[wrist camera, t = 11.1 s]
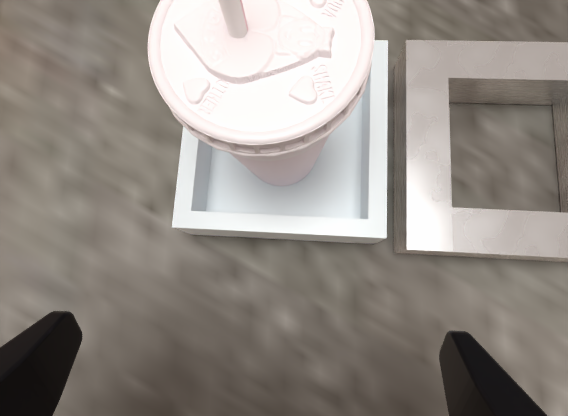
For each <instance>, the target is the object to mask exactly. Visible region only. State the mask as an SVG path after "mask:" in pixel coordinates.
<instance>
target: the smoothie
mask: <svg viewBox="0 0 568 416" xmlns="http://www.w3.org/2000/svg"><path fill="white" fill-rule="evenodd" d="M374 38H375V37H374V24H373V18H372V14H371V10H370V7H369V5H368V2H367V0H160V2H159V4H158V6H157V8H156V11H155V13H154V16H153V19H152V22H151V25H150V31H149V37H148V58H149V65H150V69H151V73H152V77H153V79H154V82H155V84H156V86H157V88H158V90H159V93H160V94H161V96H162V97H163V99H164V100H165V102H166V103H167V104H168V106H169V108H170V109H171V111H172V113H173V115H174V117H175V118H176V119H177V120H178V121H179V122H180V123H181V124H182V125H183V126H184V127H185V128H186V129H187V130H188V131H189V132H190V133H191V134H192V135H193V136H195V137H196V138H198V139H200V140H201V141H203V142H205V143H207V144H208V145H210V146H212V147H214V148H215V149H217V150H221V151H225V152H229V153H230V154H231V155H232V156H234V157H235V158H236V159H237V160H238V161H239V162H241V163H242V164H243V165H244V166H245V167H246V168H248V169H249V170H250V171H251V172H252V173H254V174H255V175H256V176H257V177H258V178H259V179H261V180H262V181H264V182H266V183H268V184H271V185H275V186H287V185H292V184H294V183H297V182H299V181H300V180H302V179H303V178H304V177H306V176H307V175H308V173H309V172H310V171H311V169H312V168H313V166H314V164H315V162H316V160H317V158H318V156H319V154H320V152H321V150H322V149H323V147H324V145H325V143H326V141H327V139H328V137H329V135H330V134H331V133H332V132H333V131H334V130H335V129H336V128H337V127H338V126H339V125H340V124H342V123H343V122H344V121H345V120H346V119H347V118H348V117H349V116H350V115H351V113H352V111H353V110H354V108H355V106H356V105H357V103H358V101H359V100H360V98H361V97H362V95H363V93H364V92H365V88H366V84H367V81H368V77H369V73H370V70H371V66H372V56H373V50H374Z"/></svg>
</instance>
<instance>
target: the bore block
mask: <svg viewBox="0 0 568 416" xmlns="http://www.w3.org/2000/svg"><path fill="white" fill-rule="evenodd" d="M449 102H451V103H489V104H527V105H552V108H553V121H554V133H555V145H556V158H557V170H558V182H559V195H560V207H561V212H541V211H518V210H496V209H474V208H452V199H451V161H450V123H449ZM394 253H403V254H421V255H440V256H459V257H478V258H497V259H515V260H534V261H553V262H568V42H505V41H439V40H406V41H405V44H404V46H403V48H402V51H401V53H400V55H399V58H398V60H397V62H396V65H395V67H394Z"/></svg>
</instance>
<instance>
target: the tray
mask: <svg viewBox="0 0 568 416" xmlns="http://www.w3.org/2000/svg"><path fill="white" fill-rule="evenodd" d="M387 97H388V41H385V40H374V50H373V56H372V66H371V70H370V73H369V77H368V81H367V84H366V88H365V92H364V93H363V95H362V97H361V98H360V100H359V101H358V103H357V105H356V106H355V108H354V110H353V111H352V113H351V115H350V116H349V117H348V118H347V119H346V120H345V121H344V122H343V123H342V124H340V125H339V126H338V127H337V128H336V129H335V130H334V131H333V132H332V133H331V134H330V135H329V137H328V139H327V141H326V143H325V145H324V147H323V149H322V150H321V152H320V154H319V156H318V158H317V160H316V162H315V164H314V166H313V168H312V169H311V171H310V172H309V173H308V175H307V176H306V177H304V178H303V179H302V180H300V181H299V182H297V183H294V184H292V185H287V186H275V185H271V184H268V183H266V182H264V181H262V180H261V179H259V178H258V177H257V176H256V175H255V174H254V173H252V172H251V171H250V170H249V169H248V168H246V167H245V166H244V165H243V164H242V163H241V162H239V161H238V160H237V159H236V158H235V157H234V156H232V155H231V154H230V153H229V152H225V151H221V150H217V149H215V148H214V147H212V146H210V145H208V144H207V143H205V142H203V141H201V140H200V139H198V138H196V137H195V136H193V135H192V134H191V133H190V132H189V131H188V130H187V129H186V128H185V127H184V126H183V134H182V143H181V151H180V160H179V169H178V178H177V187H176V195H175V204H174V213H173V222H172V228H175V229H178V230H180V231H183V232H186V233H189V234H191V235H206V236H225V237H245V238H264V239H283V240H302V241H322V242H341V243H360V244H375V243H378V242H380V241H382V240H384V239H386V238H387Z"/></svg>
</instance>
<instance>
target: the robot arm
mask: <svg viewBox="0 0 568 416" xmlns="http://www.w3.org/2000/svg"><path fill="white" fill-rule="evenodd" d="M81 341H82V331H81V329H80V327H79V325H78V323H77V321H76V319H75V317H74V315H73V314H72V313H71V312H68V311H53V312H51V313H49V314H48V315H46V316H45V317H43V318H42V319H40V320H39V321H38V322H36V323H35V324H33V325H32V326H30V327H29V328H27V329H26V330H25V331H23V332H22V333H20V334H19V335H17V336H16V337H15V338H13V339H12V340H10V341H9V342H7V343H6V344H4V345H3V346H2V347H0V416H52V415H53V413H54V411H55V409H56V407H57V405H58V402H59V400H60V397H61V395H62V392H63V390H64V387H65V384H66V382H67V379H68V376H69V374H70V371H71V368H72V366H73V363H74V360H75V358H76V355H77V352H78V350H79V347H80V344H81ZM439 361H440V367H441V372H442V378H443V384H444V389H445V395H446V400H447V406H448V412H449V416H547V415H546V414H545V413H544V411H543V410H542V409H541V408H540V407H539V406H538V405H537V404H536V403H535V402H534V401H533V400H532V399H531V398H530V397H529V396H528V395H527V394H526V393H525V391H524V390H523V389H522V388H521V387H520V386H519V385H518V384H517V383H516V382H515V381H514V380H513V379H512V378H511V377H510V376H509V375H508V374H507V372H506V371H505V370H504V369H503V368H502V367H501V366H500V365H499V364H498V363H497V362H496V361H495V360H494V359H493V358H492V357H491V356H490V355H489V354H488V352H487V351H486V350H485V349H484V348H483V347H482V346H481V345H480V344H479V343H478V342H477V341H476V340H475V339H474V338H473V337H472V336H471V335H470V334H469V333H468V332H465V331H449V332H447V334H446V336H445V339H444V342H443V344H442V347H441V350H440V354H439Z"/></svg>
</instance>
